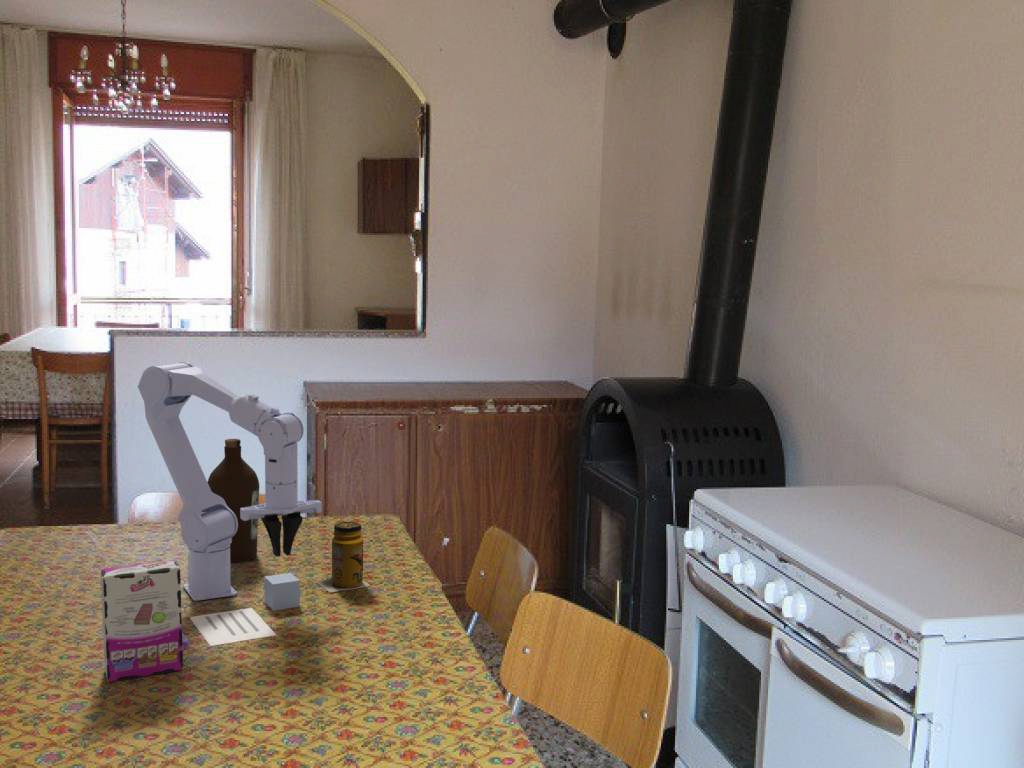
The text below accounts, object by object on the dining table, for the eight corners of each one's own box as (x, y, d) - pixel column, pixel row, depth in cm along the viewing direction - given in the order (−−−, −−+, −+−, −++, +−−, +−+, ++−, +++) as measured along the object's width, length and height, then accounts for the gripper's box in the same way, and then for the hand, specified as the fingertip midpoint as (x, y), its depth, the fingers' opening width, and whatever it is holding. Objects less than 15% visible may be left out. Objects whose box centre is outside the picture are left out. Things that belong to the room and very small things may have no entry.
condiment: (370, 586, 201) (371, 526, 200) (330, 593, 197) (330, 532, 195) (354, 576, 207) (355, 517, 206) (315, 582, 203) (315, 523, 201)
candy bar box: (178, 659, 164) (176, 558, 162) (184, 670, 159) (182, 567, 157) (102, 671, 159) (99, 567, 157) (106, 683, 154) (103, 576, 152)
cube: (264, 602, 191) (264, 576, 190) (290, 598, 193) (290, 572, 193) (273, 611, 187) (272, 584, 186) (299, 606, 189) (299, 580, 189)
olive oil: (206, 565, 212) (204, 445, 209) (209, 550, 222) (207, 435, 219) (259, 563, 214) (258, 444, 211) (260, 548, 225) (259, 435, 222)
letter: (189, 617, 182) (189, 617, 182) (251, 608, 188) (251, 607, 188) (210, 646, 169) (210, 645, 169) (276, 635, 175) (276, 634, 175)
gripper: (247, 489, 180) (248, 565, 182) (327, 482, 187) (327, 555, 189) (236, 481, 186) (237, 554, 188) (314, 474, 193) (314, 545, 195)
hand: (281, 554), depth 189 cm, fingers closed
